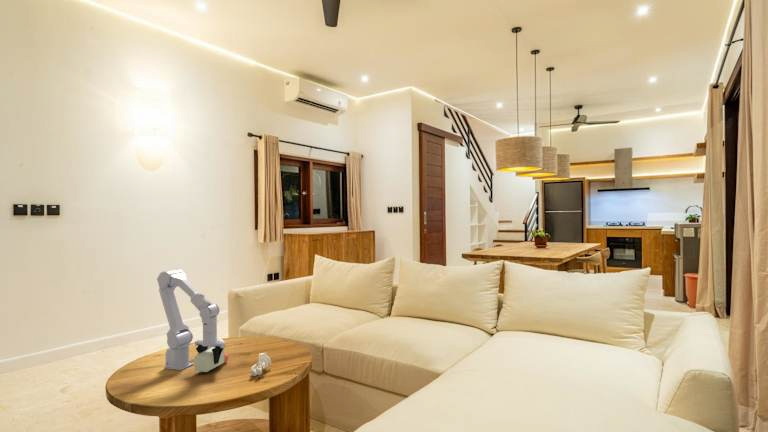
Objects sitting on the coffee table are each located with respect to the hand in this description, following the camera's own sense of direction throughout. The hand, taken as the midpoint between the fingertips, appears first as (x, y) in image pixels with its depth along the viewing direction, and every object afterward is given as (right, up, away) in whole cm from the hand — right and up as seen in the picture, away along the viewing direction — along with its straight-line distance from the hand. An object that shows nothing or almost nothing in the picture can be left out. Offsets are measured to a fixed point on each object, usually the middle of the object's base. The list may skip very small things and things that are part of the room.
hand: (210, 362), depth 182 cm
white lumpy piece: (+24, -3, -9) cm, 25 cm away
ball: (+3, -1, +9) cm, 9 cm away
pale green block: (0, -2, 0) cm, 2 cm away
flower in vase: (-12, -4, +30) cm, 33 cm away
